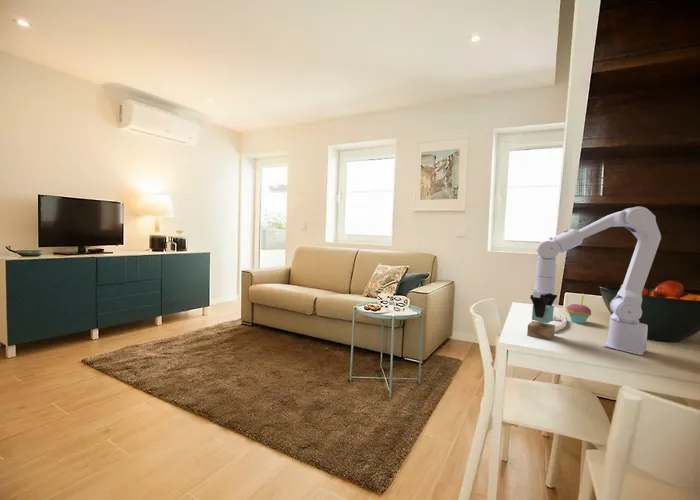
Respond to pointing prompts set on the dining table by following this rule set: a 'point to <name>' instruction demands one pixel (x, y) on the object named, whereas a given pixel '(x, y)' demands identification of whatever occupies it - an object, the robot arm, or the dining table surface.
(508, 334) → the dining table surface
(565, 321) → the white curved loop
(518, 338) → the dining table surface
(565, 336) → the dining table surface
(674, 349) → the dining table surface
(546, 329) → the walnut block
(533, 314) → the teal cube
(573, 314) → the cupcake
